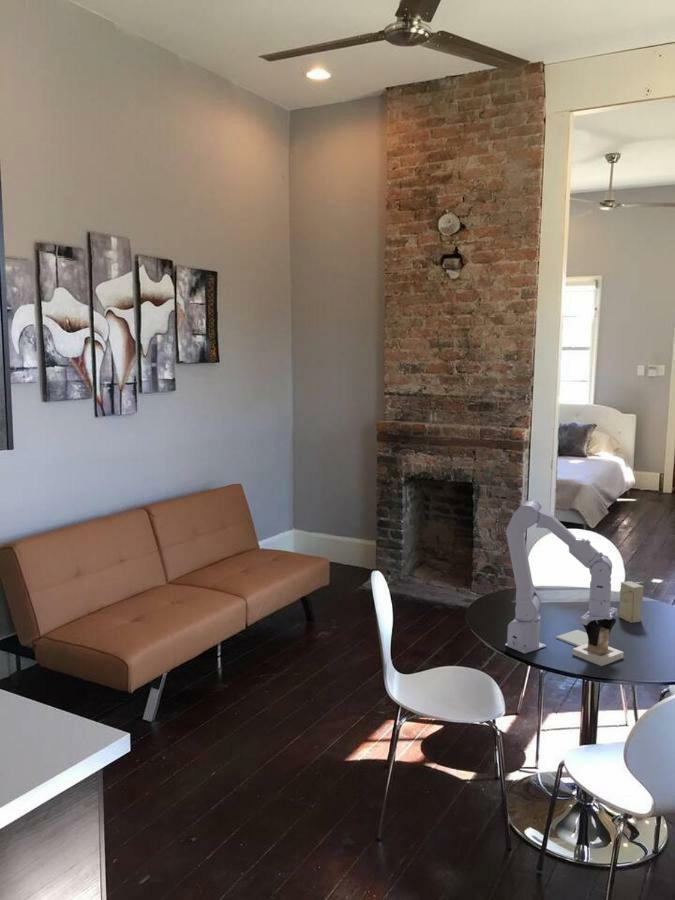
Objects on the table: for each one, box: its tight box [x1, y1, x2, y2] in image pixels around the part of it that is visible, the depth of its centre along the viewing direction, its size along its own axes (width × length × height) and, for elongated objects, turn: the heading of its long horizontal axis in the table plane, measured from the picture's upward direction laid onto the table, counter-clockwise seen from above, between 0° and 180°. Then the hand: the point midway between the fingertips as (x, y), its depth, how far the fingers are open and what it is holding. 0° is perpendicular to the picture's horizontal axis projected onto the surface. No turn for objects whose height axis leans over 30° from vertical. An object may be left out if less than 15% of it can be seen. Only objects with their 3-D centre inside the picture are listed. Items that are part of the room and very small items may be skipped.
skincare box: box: [618, 580, 645, 624], centre depth 244 cm, size 6×4×12 cm
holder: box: [572, 644, 625, 667], centre depth 215 cm, size 10×10×2 cm
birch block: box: [588, 627, 610, 656], centre depth 215 cm, size 4×4×7 cm
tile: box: [555, 629, 588, 647], centre depth 228 cm, size 10×10×1 cm
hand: (598, 643), depth 215 cm, fingers closed on birch block, 4 cm apart
